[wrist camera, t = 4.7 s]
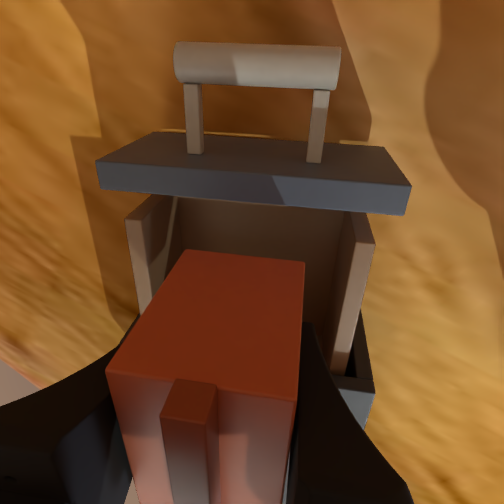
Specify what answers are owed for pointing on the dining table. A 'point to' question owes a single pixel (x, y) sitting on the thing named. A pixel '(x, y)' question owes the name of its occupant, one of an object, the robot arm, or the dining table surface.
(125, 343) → the ridged terracotta block
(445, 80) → the dining table surface
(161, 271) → the drawer
